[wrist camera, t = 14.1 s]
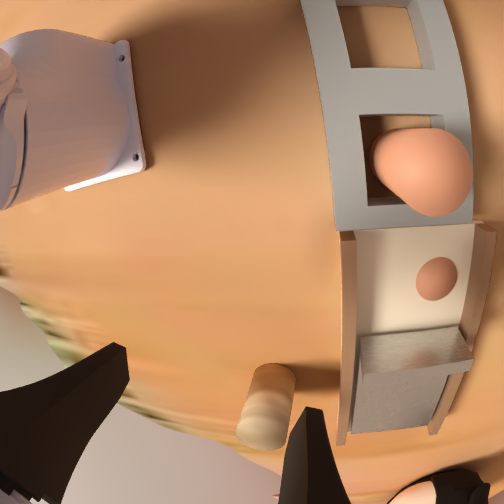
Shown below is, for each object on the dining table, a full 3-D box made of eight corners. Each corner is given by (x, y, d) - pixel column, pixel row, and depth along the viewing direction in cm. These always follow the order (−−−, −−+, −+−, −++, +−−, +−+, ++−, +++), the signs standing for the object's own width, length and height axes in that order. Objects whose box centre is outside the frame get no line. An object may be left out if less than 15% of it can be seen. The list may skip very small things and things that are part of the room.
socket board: (298, -7, 12) (295, -22, 10) (426, -5, 10) (436, -18, 8) (334, 220, 17) (336, 231, 15) (458, 213, 15) (472, 223, 13)
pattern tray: (338, 228, 17) (341, 241, 15) (480, 220, 15) (496, 231, 13) (337, 426, 24) (336, 445, 22) (433, 416, 21) (437, 434, 19)
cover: (359, 336, 18) (364, 373, 15) (457, 326, 16) (474, 358, 13) (350, 426, 22) (350, 458, 19) (427, 418, 20) (433, 448, 17)
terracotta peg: (360, 139, 15) (383, 141, 9) (413, 122, 14) (459, 119, 8) (380, 195, 16) (409, 227, 10) (431, 179, 15) (479, 203, 9)
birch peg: (250, 362, 22) (230, 422, 17) (294, 363, 21) (283, 426, 16) (256, 391, 23) (240, 448, 18) (297, 392, 23) (287, 451, 17)
